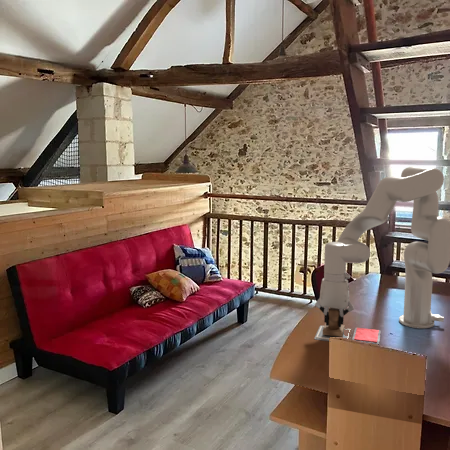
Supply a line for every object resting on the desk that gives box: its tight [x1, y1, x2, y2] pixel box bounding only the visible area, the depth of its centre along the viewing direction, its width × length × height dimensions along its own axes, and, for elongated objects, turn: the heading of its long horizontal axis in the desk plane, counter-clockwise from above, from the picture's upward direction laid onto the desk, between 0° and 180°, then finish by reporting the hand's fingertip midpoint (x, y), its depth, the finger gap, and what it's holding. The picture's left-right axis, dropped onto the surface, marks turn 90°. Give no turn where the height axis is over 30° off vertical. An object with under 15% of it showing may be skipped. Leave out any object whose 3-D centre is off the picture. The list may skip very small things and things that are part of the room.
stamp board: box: [314, 325, 352, 342], centre depth 168 cm, size 12×13×1 cm
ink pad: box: [351, 327, 381, 346], centre depth 164 cm, size 9×12×2 cm
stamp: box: [323, 308, 346, 337], centre depth 167 cm, size 7×7×9 cm
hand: (333, 324), depth 168 cm, fingers closed on stamp, 3 cm apart
